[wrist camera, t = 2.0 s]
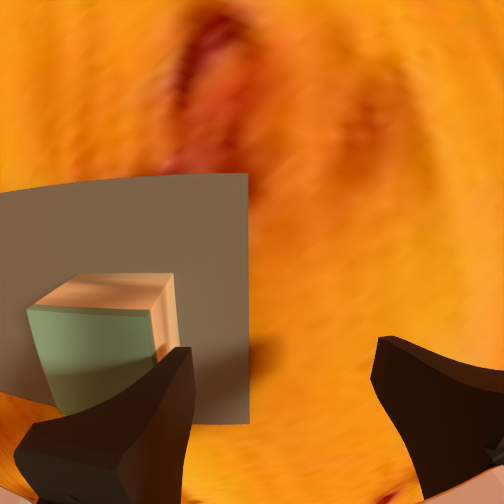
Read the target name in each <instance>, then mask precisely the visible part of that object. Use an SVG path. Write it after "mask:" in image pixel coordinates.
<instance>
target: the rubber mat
mask: <svg viewBox="0 0 504 504" xmlns="http://www.w3.org/2000/svg"><path fill="white" fill-rule="evenodd" d="M79 273H173V275H174V289H175V301H176V312H177V322H178V332H179V341H180V347H191V349H192V359H193V369H194V378H195V387H196V397H195V410H194V416H193V421H192V424H212V425H229V424H250V419H249V279H248V173H214V174H183V175H162V176H145V177H131V178H118V179H106V180H96V181H86V182H77V183H68V184H60V185H52V186H44V187H37V188H30V189H24V190H17V191H11V192H5V193H0V391H1V392H4V393H7V394H10V395H13V396H17V397H20V398H24V399H27V400H31V401H35V402H39V403H43V404H47V405H51V406H55V407H57V405H56V403H55V400H54V398H53V395H52V392H51V390H50V387H49V384H48V382H47V379H46V376H45V373H44V370H43V367H42V365H41V361H40V358H39V355H38V352H37V349H36V345H35V342H34V338H33V335H32V331H31V327H30V324H29V320H28V315H27V311H26V309H27V308H29V307H30V306H32V305H33V304H35V303H36V302H37V301H39V300H40V299H42V298H43V297H45V296H46V295H48V294H49V293H51V292H52V291H54V290H55V289H56V288H58V287H59V286H61V285H62V284H64V283H65V282H67V281H68V280H70V279H72V278H73V277H75V276H76V275H78V274H79Z"/></svg>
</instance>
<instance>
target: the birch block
mask: <svg viewBox="0 0 504 504" xmlns="http://www.w3.org/2000/svg"><path fill="white" fill-rule="evenodd" d="M26 311H27V315H28V320H29V324H30V327H31V331H32V335H33V338H34V342H35V345H36V349H37V352H38V355H39V358H40V361H41V365H42V367H43V370H44V373H45V376H46V379H47V382H48V384H49V387H50V390H51V392H52V395H53V398H54V400H55V403H56V405H57V407H58V410H59V412H60V413H61V414H65V415H72V414H75V413H78V412H81V411H84V410H86V409H89V408H91V407H93V406H95V405H98V404H100V403H102V402H104V401H106V400H108V399H110V398H112V397H114V396H115V395H117V394H119V393H120V392H122V391H124V390H125V389H127V388H128V387H129V386H131V385H132V384H134V383H135V382H136V381H137V380H139V379H140V378H141V377H142V376H144V375H145V374H146V373H147V372H149V371H150V370H151V369H152V368H153V367H154V366H155V365H156V364H157V363H158V362H159V361H161V360H162V359H163V358H164V357H165V356H166V355H167V354H168V353H169V352H170V351H171V350H172V349H173V348H174V347H180V341H179V332H178V322H177V312H176V301H175V289H174V275H173V273H79V274H78V275H76V276H75V277H73V278H72V279H70V280H68V281H67V282H65V283H64V284H62V285H61V286H59V287H58V288H56V289H55V290H54V291H52V292H51V293H49V294H48V295H46V296H45V297H43V298H42V299H40V300H39V301H37V302H36V303H35V304H33V305H32V306H30V307H29V308H27V309H26Z"/></svg>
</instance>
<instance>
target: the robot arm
mask: <svg viewBox="0 0 504 504" xmlns="http://www.w3.org/2000/svg"><path fill="white" fill-rule="evenodd" d="M370 380H371V383H372V385H373V388H374V390H375V393H376V395H377V397H378V399H379V401H380V403H381V404H382V406H383V408H384V409H385V411H386V413H387V414H388V416H389V417H390V419H391V421H392V422H393V424H394V426H395V427H396V429H397V431H398V432H399V434H400V435H401V437H402V439H403V441H404V443H405V445H406V448H407V450H408V452H409V455H410V457H411V459H412V462H413V465H414V468H415V470H416V473H417V476H418V479H419V483H420V486H421V489H422V493H423V497H424V501H421V502H418V503H416V504H504V371H501V370H493V369H487V368H481V367H477V366H473V365H469V364H465V363H461V362H458V361H455V360H452V359H449V358H447V357H444V356H441V355H439V354H436V353H434V352H431V351H429V350H427V349H424V348H422V347H420V346H418V345H415V344H413V343H411V342H408V341H406V340H403V339H401V338H398V337H395V336H384V337H379V338H378V343H377V349H376V354H375V359H374V364H373V368H372V373H371V377H370ZM195 397H196V387H195V378H194V369H193V359H192V349H191V347H174V348H173V349H172V350H171V351H170V352H169V353H168V354H167V355H166V356H165V357H164V358H163V359H162V360H161V361H159V362H158V363H157V364H156V365H155V366H154V367H153V368H152V369H151V370H150V371H149V372H147V373H146V374H145V375H144V376H142V377H141V378H140V379H139V380H137V381H136V382H135V383H134V384H132V385H131V386H129V387H128V388H127V389H125V390H124V391H122V392H120V393H119V394H117V395H115V396H114V397H112V398H110V399H108V400H106V401H104V402H102V403H100V404H98V405H95V406H93V407H91V408H89V409H86V410H84V411H81V412H78V413H75V414H72V415H69V416H66V417H62V418H58V419H53V420H48V421H44V422H38V423H33V425H32V426H31V427H30V429H29V430H28V432H27V433H26V435H25V436H24V438H23V439H22V441H21V442H20V444H19V445H18V447H17V448H16V450H15V452H14V460H15V464H16V466H17V468H18V469H19V471H20V473H21V474H22V476H23V477H24V478H25V480H26V481H27V482H28V484H29V485H30V486H31V488H32V489H33V490H34V491H35V493H36V494H37V495H38V496H39V499H38V502H37V504H181V489H182V475H183V465H184V458H185V453H186V449H187V444H188V439H189V435H190V430H191V426H192V421H193V416H194V410H195ZM0 504H34V503H33V502H31V501H30V500H28V499H26V498H24V497H22V496H20V495H18V494H16V493H14V492H12V491H10V490H7V489H5V488H3V487H1V486H0Z"/></svg>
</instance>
